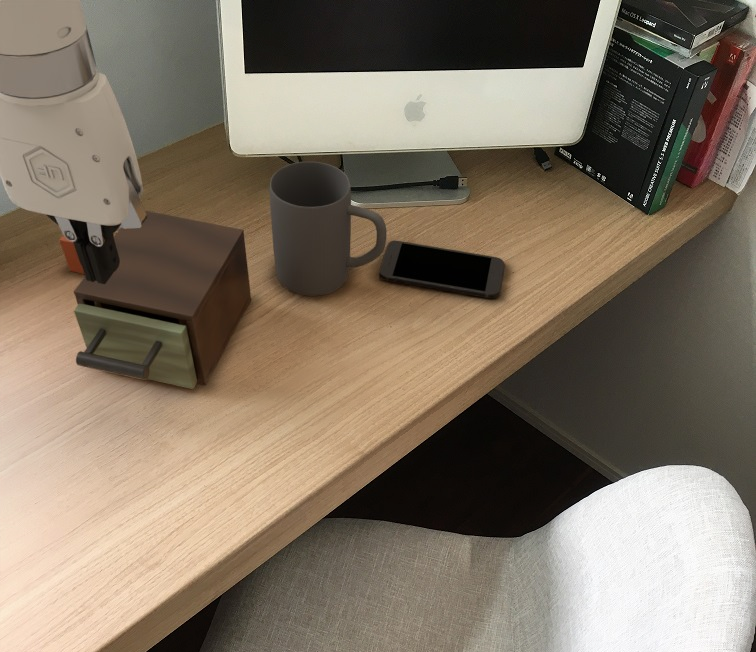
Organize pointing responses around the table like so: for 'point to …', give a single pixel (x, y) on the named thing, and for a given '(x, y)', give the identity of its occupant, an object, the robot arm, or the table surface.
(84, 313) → the drawer
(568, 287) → the table surface
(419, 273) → the smartphone
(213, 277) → the cabinet
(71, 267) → the block
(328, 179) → the mug
